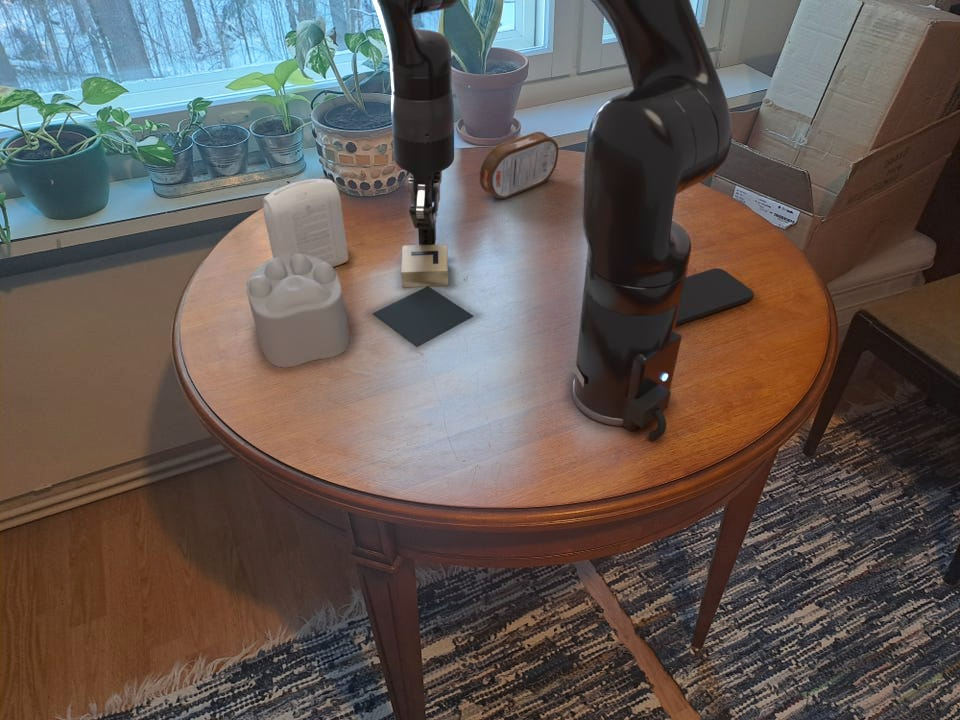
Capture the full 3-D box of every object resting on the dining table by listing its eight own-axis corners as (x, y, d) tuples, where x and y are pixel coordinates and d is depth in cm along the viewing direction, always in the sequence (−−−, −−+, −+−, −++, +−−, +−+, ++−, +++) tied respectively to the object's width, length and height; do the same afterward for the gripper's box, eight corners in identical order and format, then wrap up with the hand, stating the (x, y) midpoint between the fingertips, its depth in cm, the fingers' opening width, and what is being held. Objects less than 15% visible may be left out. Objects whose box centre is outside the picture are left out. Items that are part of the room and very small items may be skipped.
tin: (546, 173, 119) (549, 124, 114) (560, 179, 117) (563, 130, 112) (478, 200, 112) (477, 149, 106) (490, 207, 110) (491, 156, 105)
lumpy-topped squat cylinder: (267, 372, 80) (251, 311, 75) (252, 310, 90) (236, 251, 84) (357, 351, 83) (347, 290, 78) (333, 293, 92) (323, 234, 87)
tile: (447, 259, 98) (446, 243, 96) (448, 285, 94) (447, 269, 92) (404, 260, 98) (402, 244, 96) (402, 287, 93) (401, 271, 92)
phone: (625, 295, 90) (719, 266, 95) (624, 300, 91) (718, 271, 95) (660, 327, 85) (758, 294, 90) (659, 332, 85) (756, 300, 90)
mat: (473, 316, 88) (473, 315, 88) (416, 346, 84) (416, 346, 84) (428, 286, 93) (428, 285, 93) (372, 313, 89) (372, 313, 89)
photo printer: (341, 249, 101) (328, 167, 93) (354, 262, 98) (342, 179, 90) (272, 271, 97) (252, 187, 89) (284, 285, 94) (265, 201, 86)
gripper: (449, 152, 81) (450, 275, 93) (458, 103, 90) (458, 220, 102) (383, 149, 81) (393, 272, 93) (400, 100, 91) (407, 217, 103)
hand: (427, 244), depth 98 cm, fingers closed
